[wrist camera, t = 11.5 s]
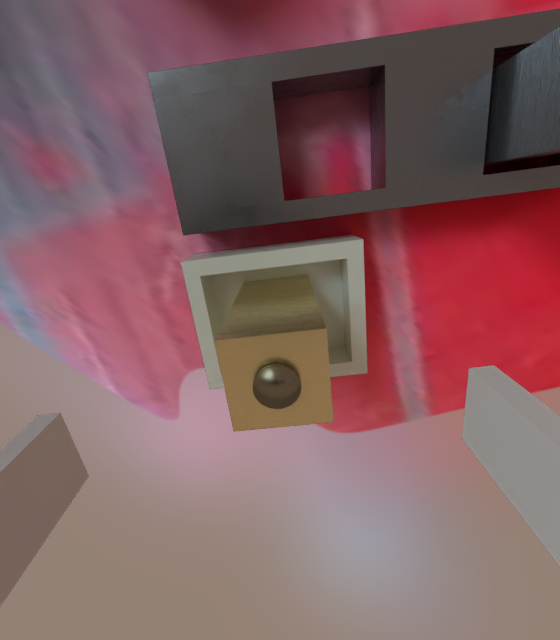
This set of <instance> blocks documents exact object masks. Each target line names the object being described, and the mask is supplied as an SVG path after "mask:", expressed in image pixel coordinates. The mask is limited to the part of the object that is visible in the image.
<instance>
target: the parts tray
mask: <svg viewBox="0 0 560 640" xmlns="http://www.w3.org/2000/svg"><path fill="white" fill-rule="evenodd" d="M181 267H182V271H183V275H184V280H185V284H186V288H187V293H188V297H189V301H190V306H191V310H192V314H193V319H194V323H195V327H196V332H197V336H198V340H199V345H200V349H201V353H202V358H203V362H204V366H205V371H206V374H207V379H208V384H209V388H210V389H218V388H224V383H223V378H222V374H221V369H220V364H219V360H218V355H217V350H216V345H215V339H216V337H217V335H218V333H219V331H220V329H221V327H222V325H223V323H224V321H225V319H226V317H227V315H228V313H229V311H230V309H231V307H232V305H233V303H234V301H235V299H236V297H237V295H238V293H239V291H240V289H241V287H242V285H243V283H244V282H250V281H258V280H267V279H275V278H284V277H292V276H301V275H308V276H309V279H310V282H311V285H312V288H313V291H314V293H315V296H316V299H317V302H318V305H319V308H320V311H321V314H322V317H323V319H324V322H325V325H326V328H327V340H328V353H329V366H330V377H337V376H346V375H356V374H366V373H367V340H366V307H365V275H364V242H363V239H361V238H359V237H357V236H355V235H353V234H352V235H344V236H336V237H328V238H320V239H312V240H304V241H296V242H288V243H280V244H272V245H264V246H256V247H248V248H240V249H231V250H223V251H215V252H207V253H199V254H193V255H192V256H190V257H188V258H186V259H185V260H183V261H181Z"/></svg>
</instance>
